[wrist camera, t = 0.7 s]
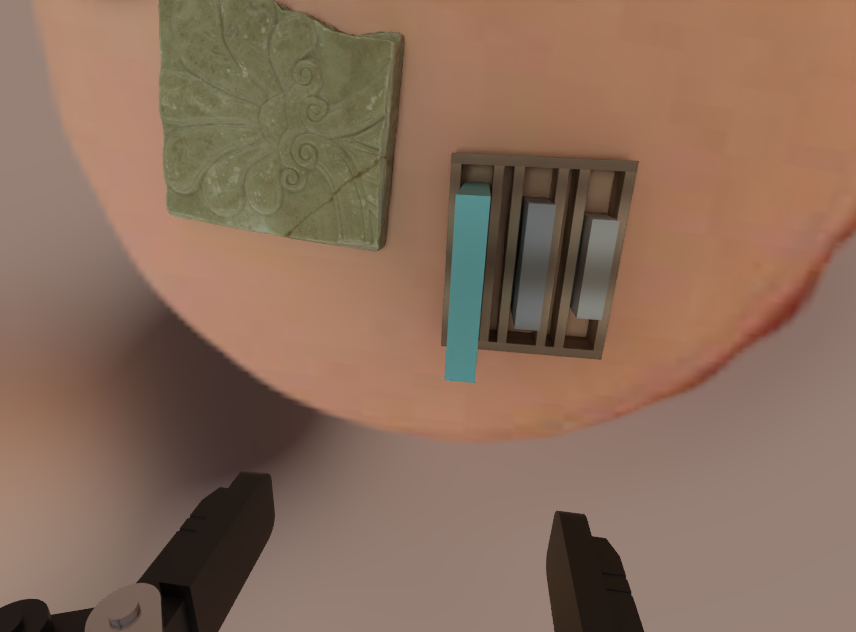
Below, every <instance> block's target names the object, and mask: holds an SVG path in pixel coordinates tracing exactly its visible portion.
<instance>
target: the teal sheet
mask: <svg viewBox="0 0 856 632" xmlns="http://www.w3.org/2000/svg"><path fill="white" fill-rule="evenodd" d="M490 199H491V195H490V189H489V183H480V182H465V183H464V184H463V186H462V187H461V188H460V190H459V191H458V192H457V194H456V200H455V217H454V233H453V249H452V266H451V282H450V299H449V315H448V331H447V348H446V364H445V380H449V381H459V382H470V383H475V372H476V361H477V349H478V338H479V326H480V315H481V303H482V291H483V280H484V268H485V257H486V245H487V233H488V222H489V210H490Z"/></svg>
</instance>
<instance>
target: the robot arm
mask: <svg viewBox="0 0 856 632" xmlns="http://www.w3.org/2000/svg"><path fill="white" fill-rule="evenodd" d="M274 518H275V511H274V500H273V491H272V480H271V476H270V474H267V473H259V472H251V471H242V472H240V473H239V474H238V476H237V477H236V479H235V480H234V481H233V482H232V484H231V485H230V486H229V488H222V487H220V488H218V489H217V490H216V491H214V492H213V493H211V494H210V495H208V496H207V497H206V498H204V499H203V500H202V501H201V502H200V503H199V505H198V506H197V507H196V509H195V510H194V511H193V512H192V514H191V515H190V518H188V519H187V520H186V521H185V522H184V524H183V525H182V526H181V528H180V530H179V531H177V532H176V534H175V535H174V536H173V538H172V539H171V540H170V541H169V543H168V544H167V545H166V547H165V548H164V549H163V550H162V551H161V553H160V554H159V555H158V556H157V558H156V559H155V560H154V562H153V563H152V564H151V565H150V567H149V568H148V569H147V570H146V572H145V573H144V574H143V575H142V577H141V578H140V579H139V581H137V583H136V584H131V585H128V586H125V587H122V588H120V589H118V590H116V591H114V592H112V593H111V594H109V595H108V596H107V597H105V598H104V599H103V600H102V601H101V602H99V604H98V605H96V607H94V608H90V609H84V610H78V611H72V612H66V613H59V614H54V615H51V614H50V612H49V609H48V607H47V605H46V603H44V602H43V601H41V600H38V599H26V600H20V601H17V602H13V603H11V604H8V605H6V606H4V607H1V608H0V632H218V631H219V629H220V628H221V626H222V624H223V622H224V620H225V618H226V616H227V614H228V613H229V611H230V609H231V607H232V606H233V604H234V602H235V600H236V598H237V596H238V594H239V593H240V591H241V589H242V587H243V585H244V584H245V582H246V580H247V578H248V576H249V574H250V572H251V571H252V569H253V567H254V565H255V563H256V562H257V560H258V558H259V556H260V554H261V552H262V551H263V549H264V547H265V545H266V543H267V541H268V539H269V538H270V535H271V532H272V529H273V526H274ZM546 571H547V572H546V573H547V582H548V589H549V596H550V603H551V610H552V617H553V624H554V631H555V632H644V630H643V627H642V623H641V621H640V617H639V614H638V611H637V608H636V605H635V602H634V599H633V597H632V596H631V590H630V587H629V584H628V581H627V580H626V575H625V571H624V569H623V565H622V562H621V559H620V556H619V555H618V553H617V552H616V551H615V550H614V548H613V547H612V546H611V544H610V543H609V542H608V540H607V539H606V538H599V537H593V536H592V535H591V532H590V528H589V524H588V521H587V518H586V516H585V515H584V514H579V513H570V512H563V511H556V512H555V515H554V519H553V525H552V530H551V535H550V540H549V546H548V551H547V559H546Z"/></svg>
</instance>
